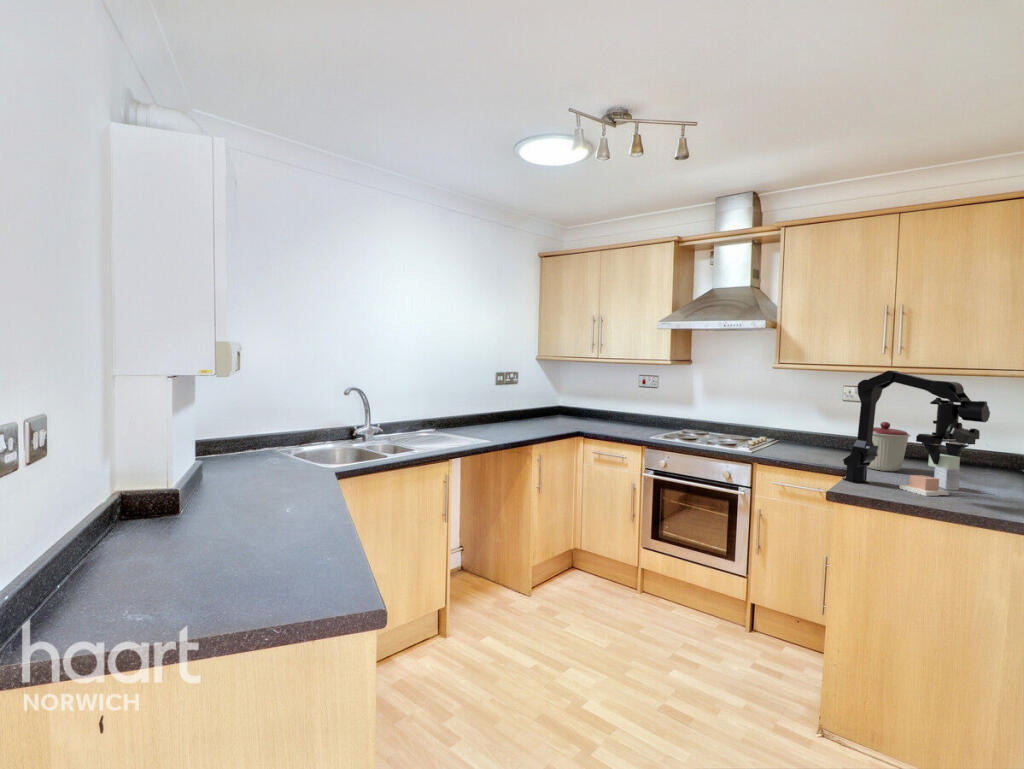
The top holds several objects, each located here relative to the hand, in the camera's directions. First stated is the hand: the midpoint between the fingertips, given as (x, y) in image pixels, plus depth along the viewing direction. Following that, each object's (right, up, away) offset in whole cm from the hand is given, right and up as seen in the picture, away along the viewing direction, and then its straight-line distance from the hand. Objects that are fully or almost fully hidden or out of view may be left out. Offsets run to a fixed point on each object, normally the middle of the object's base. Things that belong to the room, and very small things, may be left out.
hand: (943, 464), depth 179 cm
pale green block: (0, -1, 0) cm, 1 cm away
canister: (+16, -11, +53) cm, 56 cm away
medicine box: (+17, -12, +20) cm, 30 cm away
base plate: (+2, -12, +12) cm, 17 cm away
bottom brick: (+2, -10, +11) cm, 16 cm away
